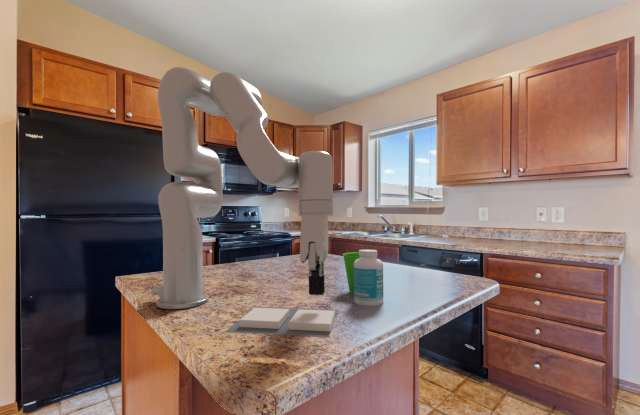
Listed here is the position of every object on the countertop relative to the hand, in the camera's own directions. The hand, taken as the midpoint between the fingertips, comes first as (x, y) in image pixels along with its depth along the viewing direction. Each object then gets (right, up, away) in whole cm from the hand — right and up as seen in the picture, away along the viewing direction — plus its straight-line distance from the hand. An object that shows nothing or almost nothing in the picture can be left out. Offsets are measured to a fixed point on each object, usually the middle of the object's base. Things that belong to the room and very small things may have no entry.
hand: (316, 293), depth 67 cm
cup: (+12, -6, +23) cm, 26 cm away
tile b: (0, -4, 0) cm, 4 cm away
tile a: (-10, -4, +1) cm, 11 cm away
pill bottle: (+13, -6, +11) cm, 18 cm away
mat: (-6, -6, -2) cm, 9 cm away
